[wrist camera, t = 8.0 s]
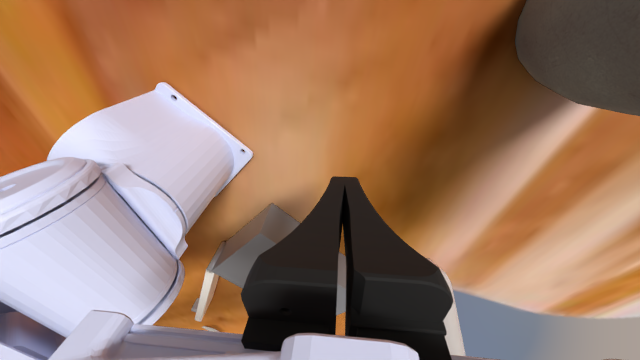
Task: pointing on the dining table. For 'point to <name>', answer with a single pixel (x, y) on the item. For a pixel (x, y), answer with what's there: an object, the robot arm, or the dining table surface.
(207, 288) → the door
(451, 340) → the salt shaker
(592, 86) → the bottle
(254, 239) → the camera housing
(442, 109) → the dining table surface
